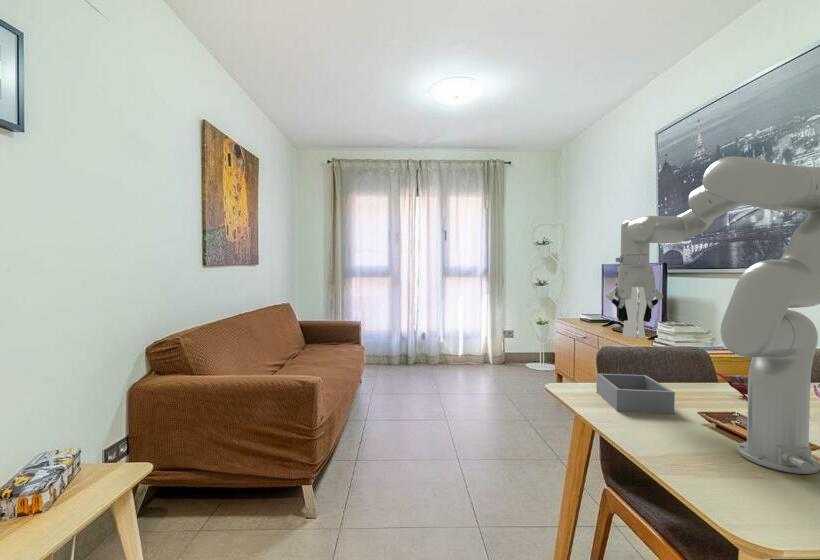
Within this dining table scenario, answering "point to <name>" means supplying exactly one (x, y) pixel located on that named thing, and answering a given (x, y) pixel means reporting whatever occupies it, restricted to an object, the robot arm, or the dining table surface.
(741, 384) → the decorative bird figurine
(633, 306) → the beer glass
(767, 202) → the robot arm
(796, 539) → the dining table surface
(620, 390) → the box
